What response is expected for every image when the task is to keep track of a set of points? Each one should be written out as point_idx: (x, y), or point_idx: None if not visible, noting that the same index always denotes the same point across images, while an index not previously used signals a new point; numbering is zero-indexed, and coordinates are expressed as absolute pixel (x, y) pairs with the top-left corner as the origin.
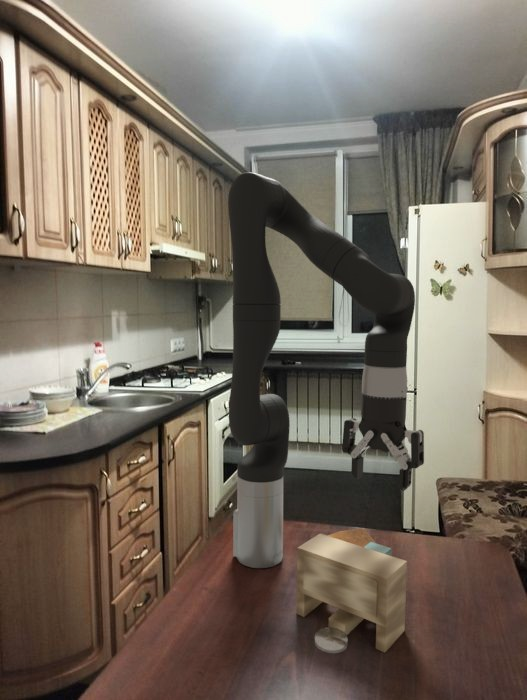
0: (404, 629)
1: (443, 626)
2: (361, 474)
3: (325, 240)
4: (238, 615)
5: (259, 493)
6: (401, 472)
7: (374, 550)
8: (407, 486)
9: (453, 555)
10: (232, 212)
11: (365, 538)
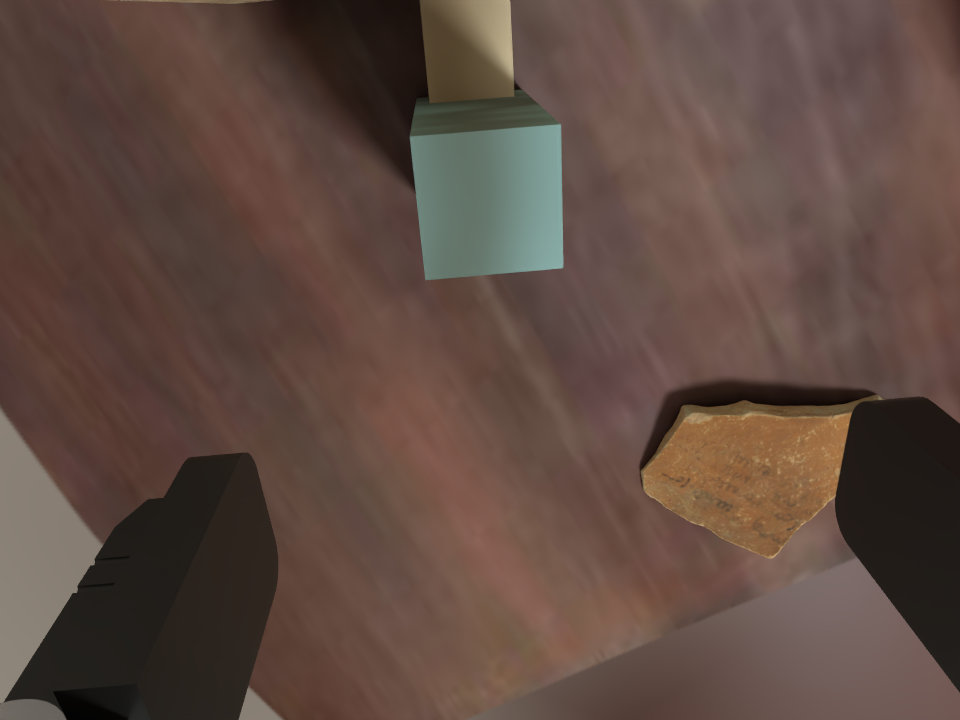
0: (232, 3)
1: (147, 159)
2: (858, 515)
3: None
4: None
5: None
6: (113, 639)
7: (486, 180)
8: (131, 522)
9: (411, 622)
10: None
11: (727, 506)
